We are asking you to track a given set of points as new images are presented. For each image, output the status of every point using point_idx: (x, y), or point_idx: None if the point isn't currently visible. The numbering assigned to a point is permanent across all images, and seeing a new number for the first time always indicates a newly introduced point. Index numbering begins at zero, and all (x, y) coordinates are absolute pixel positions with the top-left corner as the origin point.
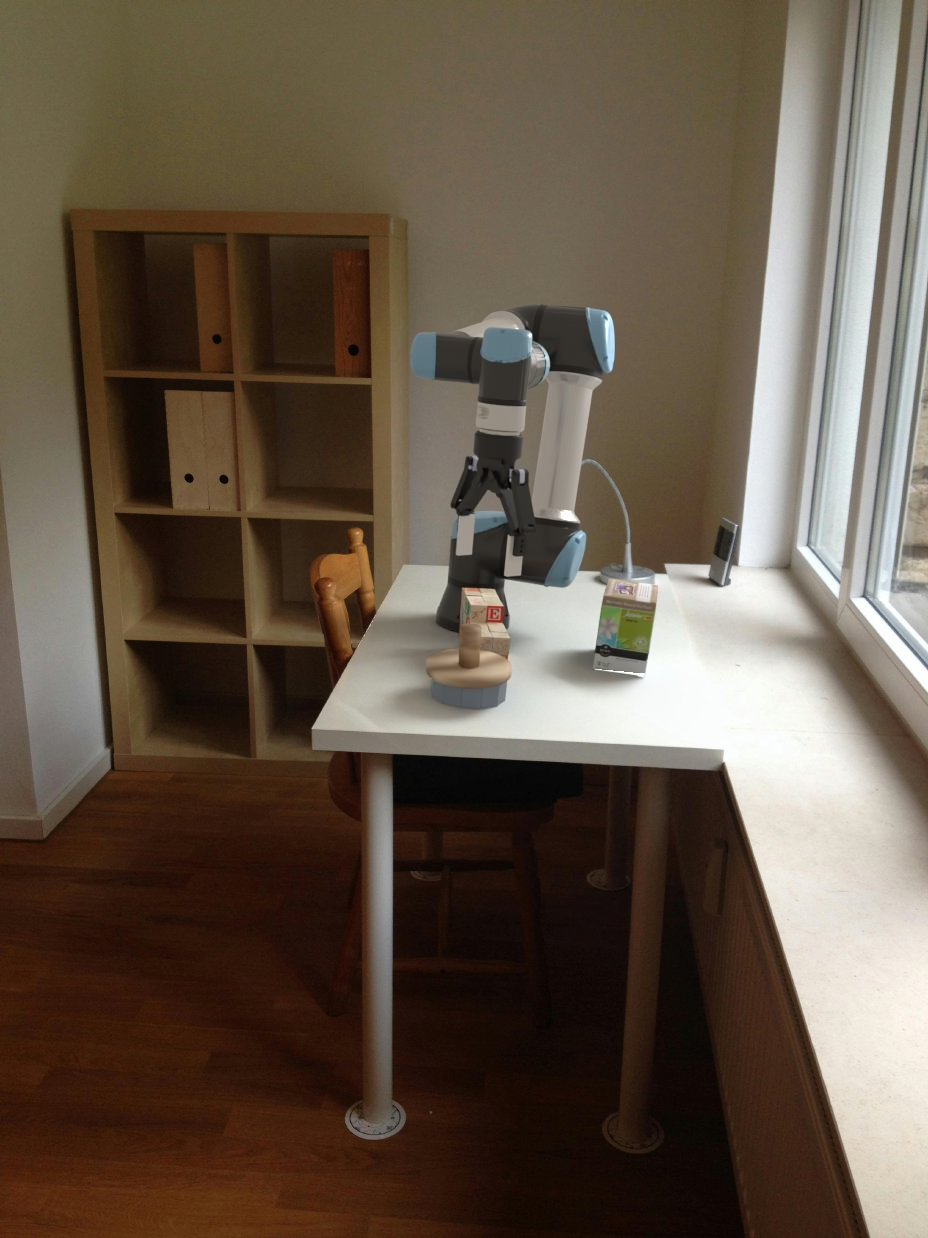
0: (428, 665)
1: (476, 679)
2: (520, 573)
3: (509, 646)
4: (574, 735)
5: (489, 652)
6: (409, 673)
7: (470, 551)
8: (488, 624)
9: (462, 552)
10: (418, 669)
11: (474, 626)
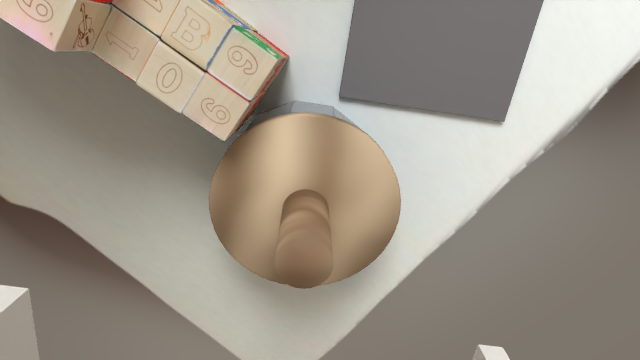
0: (263, 273)
1: (373, 245)
2: (506, 358)
3: (280, 58)
4: (533, 120)
5: (277, 125)
6: (135, 169)
7: (16, 312)
8: (141, 20)
9: (24, 354)
10: (121, 139)
11: (306, 256)
